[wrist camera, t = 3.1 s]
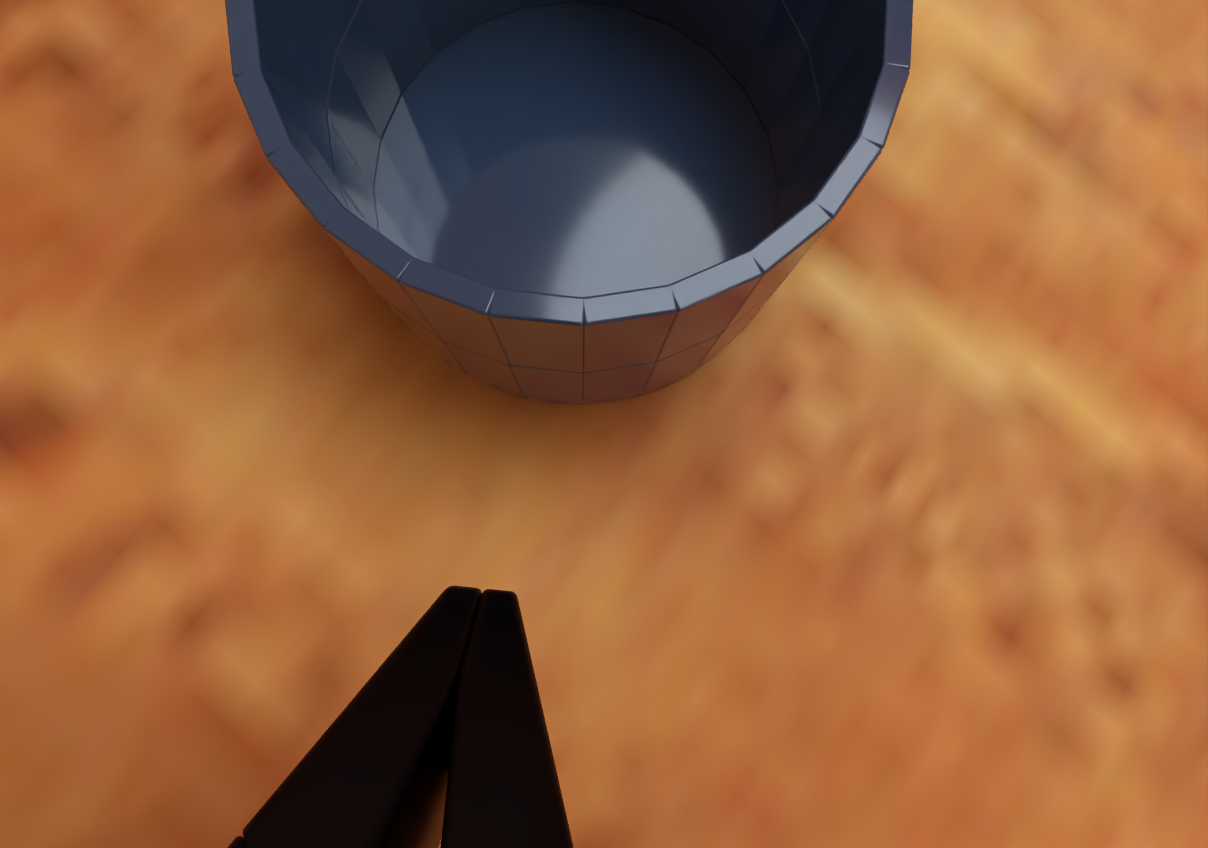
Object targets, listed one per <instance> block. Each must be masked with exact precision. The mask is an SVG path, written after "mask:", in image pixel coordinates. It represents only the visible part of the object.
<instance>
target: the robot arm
mask: <svg viewBox="0 0 1208 848" xmlns="http://www.w3.org/2000/svg"><path fill="white" fill-rule="evenodd" d="M441 836H442V839H441ZM440 839H441V848H574V847H573V843H572V839H571V834H570V830H569V825H568V821H567V816H566V812H565V807H564V803H563V798H562V794H561V790H560V785H559V781H558V776H557V772H556V767H555V763H554V758H553V754H552V749H551V745H550V741H549V736H548V732H547V727H546V723H545V718H544V714H543V709H542V705H541V700H540V696H539V692H538V687H537V683H536V678H535V674H534V669H533V665H532V660H531V656H530V651H529V647H528V643H527V638H526V634H525V629H524V625H523V620H522V616H521V611H520V607H519V603H518V598H517V596H516V594H515V593H514V592H512V591H502V590H492V589H487V590H485V591H484V592H483V593H482V592H481V590H480V589H478V588H472V587H462V586H450V587H448V588H447V589H445V590H444V592H443V593H442V594H441V595H440V596H439V597H438V599H437V600H436V601H435V602H434V603H433V604H432V606H431V607H430V608H429V609H428V610H427V612H426V613H425V614H424V615H423V616H422V618H421V619H420V620H419V621H418V622H417V623H416V625H415V626H414V627H413V628H412V629H411V631H410V632H409V633H408V634H407V635H406V637H405V638H404V639H403V640H402V641H401V642H400V644H399V645H398V646H397V647H396V648H395V650H394V651H393V652H392V653H391V654H390V656H389V657H388V658H387V659H386V660H385V662H384V663H383V664H382V665H381V666H380V667H379V669H378V670H377V671H376V672H375V673H374V675H373V676H372V677H371V678H370V679H369V681H368V682H367V683H366V684H365V685H364V686H363V688H362V689H361V690H360V691H359V692H358V694H357V695H356V696H355V697H354V698H353V700H352V701H351V702H350V703H349V704H348V705H347V707H346V708H345V709H344V710H343V711H342V713H341V714H340V715H339V716H338V717H337V719H336V720H335V721H334V722H333V723H332V724H331V726H330V727H329V728H328V729H327V730H326V732H325V733H324V734H323V735H322V736H321V738H320V739H319V740H318V741H317V742H316V743H315V745H314V746H313V747H312V748H311V749H310V751H309V752H308V753H307V754H306V755H305V757H304V758H303V759H302V760H301V761H300V762H299V764H298V765H297V766H296V767H295V768H294V770H293V771H292V772H291V773H290V774H289V776H288V777H287V778H286V779H285V780H284V781H283V783H282V784H281V785H280V786H279V787H278V789H277V790H276V791H275V792H274V793H273V795H272V796H271V797H270V798H269V799H268V800H267V802H266V803H265V804H264V805H263V806H262V808H261V809H260V810H259V811H258V812H257V814H256V815H255V816H254V817H253V818H252V819H251V821H250V822H249V823H248V824H247V825H246V827H245V828H244V830H243V837H242V836H238V837H236V838H235V839H234V840H233V842H232V843H231V844H230V845H229V846H228V848H438V846H439V842H440Z"/></svg>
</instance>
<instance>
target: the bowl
mask: <svg viewBox="0 0 1208 848" xmlns="http://www.w3.org/2000/svg"><path fill="white" fill-rule="evenodd" d="M225 4H226V14H227V24H228V34H229V44H230V54H231V63H232V73H233V76H234V82H235V84H236V87H237V89H238V92H239V94H240V96H241V99H242V101H243V104H244V106H245V108H246V111H247V113H248V116H249V118H250V121H251V123H252V125H253V128H254V130H255V133H256V135H257V137H258V140H259V142H260V145H261V147H262V149H263V152H264V154H265V156H266V157H267V158H268V161H269V163H270V164H271V165H272V166H273V168H274V169H275V170H276V171H277V172H278V174H279V175H280V176H281V177H282V179H283V180H284V181H285V182H286V184H287V185H288V186H289V187H290V189H291V190H292V191H293V192H294V194H295V195H296V196H297V197H298V199H299V200H300V201H301V202H302V204H303V205H304V206H305V207H306V209H307V210H308V211H309V212H310V214H311V215H312V216H313V217H314V219H315V220H316V221H317V222H318V224H319V225H320V226H321V227H322V228H323V229H324V231H325V232H326V233H327V234H328V235H329V236H330V238H331V239H332V240H333V241H334V242H335V243H336V245H337V246H338V247H339V248H340V249H341V250H342V252H343V253H344V254H345V255H346V256H347V257H348V258H349V260H350V261H351V262H352V263H353V264H354V265H355V267H356V268H357V269H358V270H359V271H360V272H361V274H362V275H363V276H364V277H365V278H366V279H367V281H368V282H369V283H370V284H371V285H372V286H373V287H374V289H375V290H376V291H377V292H378V293H379V294H380V296H381V297H382V298H383V299H384V300H385V301H386V303H387V304H388V305H389V306H390V307H391V308H392V310H393V311H394V312H395V313H396V314H397V315H398V317H399V318H400V319H401V320H402V321H403V322H404V323H405V325H406V326H407V327H408V328H409V329H410V330H411V332H412V333H413V334H414V335H415V336H416V337H417V339H419V340H420V341H421V342H422V343H423V344H425V345H426V346H427V347H429V348H430V349H431V350H432V351H433V352H435V353H436V354H437V355H438V356H440V357H441V358H442V359H443V360H444V361H446V362H447V363H448V364H450V365H452V366H453V367H455V368H456V369H458V370H460V371H461V372H463V373H464V374H466V375H468V376H469V377H471V378H473V379H475V380H477V381H479V382H481V383H484V384H486V385H488V386H490V387H492V388H495V389H497V390H500V391H503V392H506V393H510V394H513V395H516V396H519V397H523V398H526V399H532V400H538V401H544V402H550V403H562V404H592V403H603V402H613V401H617V400H622V399H626V398H631V397H635V396H640V395H642V394H645V393H648V392H651V391H653V390H656V389H659V388H662V387H664V386H667V385H669V384H671V383H673V382H675V381H677V380H679V379H680V378H682V377H684V376H686V375H688V374H690V373H692V372H693V371H695V370H696V369H698V368H699V367H700V366H702V365H703V364H705V363H706V362H708V361H709V360H710V359H712V358H713V357H715V356H716V355H717V354H718V353H719V352H720V351H721V350H722V349H723V348H724V347H725V346H727V345H728V344H729V343H730V342H731V341H732V340H733V339H735V338H736V337H737V336H738V335H739V334H740V333H741V332H742V331H743V330H744V329H745V328H746V326H747V325H748V324H749V323H750V321H751V320H752V319H753V318H754V317H755V315H756V314H757V313H758V312H759V310H760V309H761V308H762V307H763V305H764V304H765V303H766V302H767V301H768V299H769V298H770V297H771V296H772V294H773V293H774V292H775V291H776V289H777V288H778V287H779V286H780V285H781V283H782V282H783V281H784V280H785V278H786V277H787V276H788V275H789V273H790V272H791V271H792V270H793V269H794V267H795V266H796V265H797V264H798V262H799V261H800V260H801V259H802V257H803V256H804V255H805V254H806V253H807V251H808V250H809V249H810V248H811V246H812V245H813V244H814V243H815V242H816V240H817V239H818V238H819V237H820V235H821V234H822V233H823V232H824V230H825V229H826V228H827V227H828V226H829V224H830V223H831V222H832V221H833V219H834V218H835V217H836V216H837V214H838V213H839V211H840V210H841V208H842V207H843V206H844V204H845V203H846V201H847V200H848V199H849V197H850V196H851V194H852V193H853V192H854V190H855V189H856V187H857V186H858V184H859V183H860V182H861V180H862V179H863V177H864V176H865V175H866V173H867V172H868V170H869V169H870V168H871V166H872V165H873V163H874V162H875V160H876V159H877V158H878V156H879V155H880V153H881V151H882V149H883V148H884V146H885V143H886V140H887V137H888V134H889V131H890V128H891V125H892V123H893V120H894V117H895V114H896V111H897V108H898V105H899V102H900V99H901V96H902V93H903V90H904V88H905V85H906V82H907V79H908V76H909V69H910V60H911V37H912V14H913V0H225Z"/></svg>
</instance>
